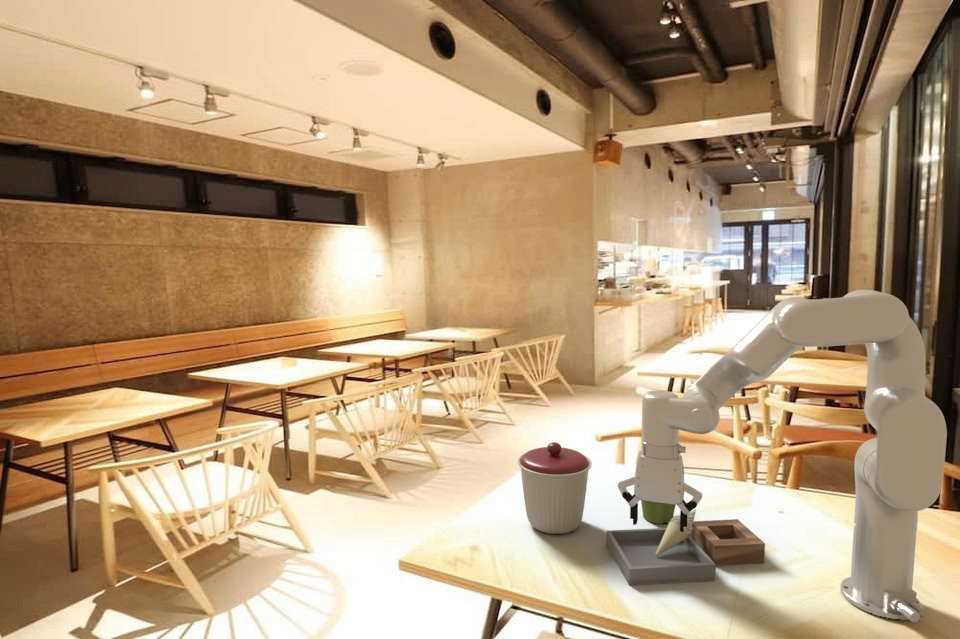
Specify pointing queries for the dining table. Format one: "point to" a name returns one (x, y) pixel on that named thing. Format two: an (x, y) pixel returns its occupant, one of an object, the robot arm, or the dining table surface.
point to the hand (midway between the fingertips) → (658, 525)
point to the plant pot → (657, 511)
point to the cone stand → (728, 542)
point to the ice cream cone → (675, 533)
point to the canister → (554, 487)
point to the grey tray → (658, 558)
